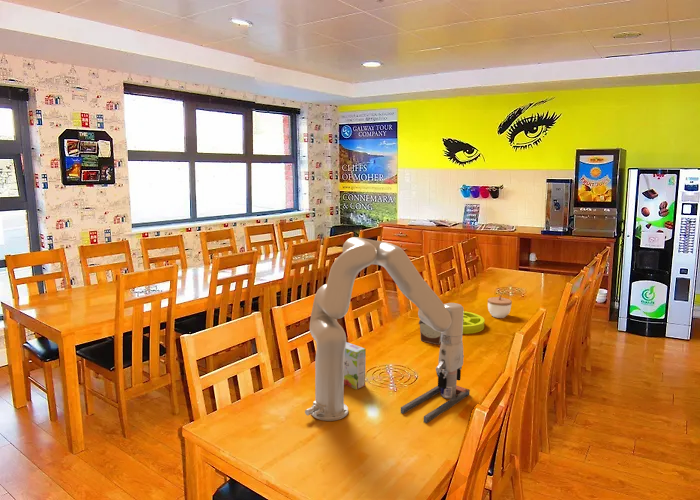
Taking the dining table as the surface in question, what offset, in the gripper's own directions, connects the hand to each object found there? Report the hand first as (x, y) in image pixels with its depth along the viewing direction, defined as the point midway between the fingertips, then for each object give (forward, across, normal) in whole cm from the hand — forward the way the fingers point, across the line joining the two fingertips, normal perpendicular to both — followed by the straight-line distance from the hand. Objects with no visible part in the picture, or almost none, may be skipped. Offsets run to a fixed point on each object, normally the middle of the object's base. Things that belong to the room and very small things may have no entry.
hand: (449, 383), depth 186 cm
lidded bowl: (+5, +105, +31) cm, 109 cm away
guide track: (+5, -8, 0) cm, 10 cm away
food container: (+5, +46, +36) cm, 58 cm away
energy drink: (+5, 0, 0) cm, 5 cm away
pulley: (+5, +75, +40) cm, 85 cm away
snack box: (+5, -16, +38) cm, 42 cm away
